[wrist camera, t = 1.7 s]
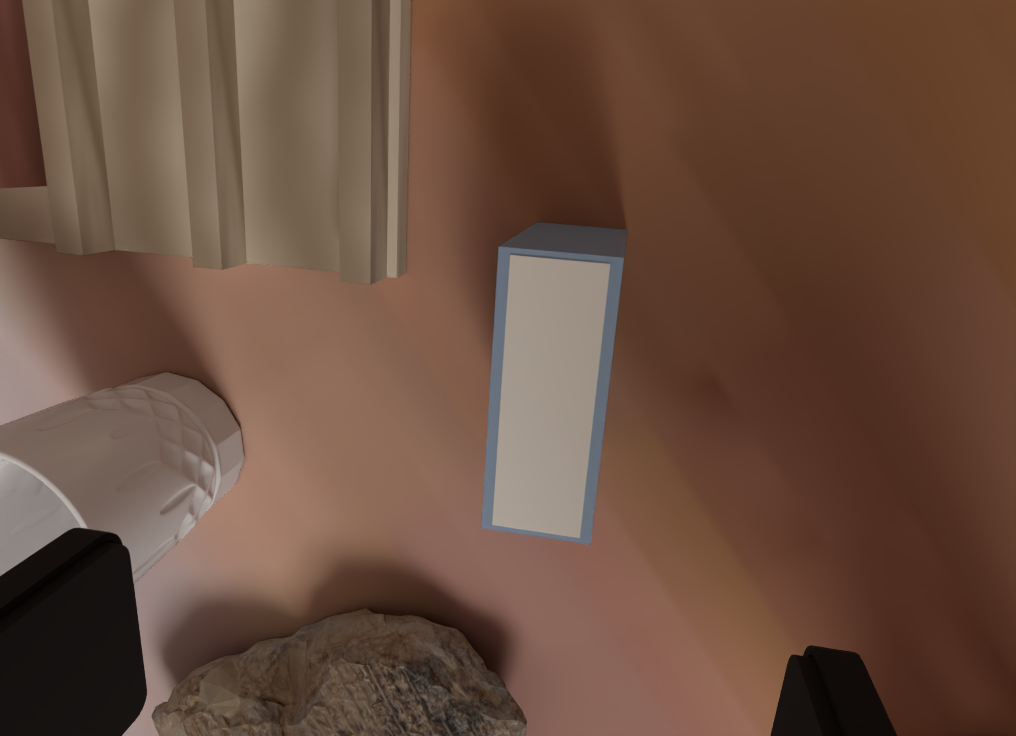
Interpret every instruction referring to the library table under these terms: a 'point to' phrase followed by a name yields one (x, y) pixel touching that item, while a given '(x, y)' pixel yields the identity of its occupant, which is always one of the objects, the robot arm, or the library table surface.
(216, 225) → the book rack
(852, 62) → the library table surface
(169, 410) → the white cup
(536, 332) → the blue book
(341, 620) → the clay tablet
